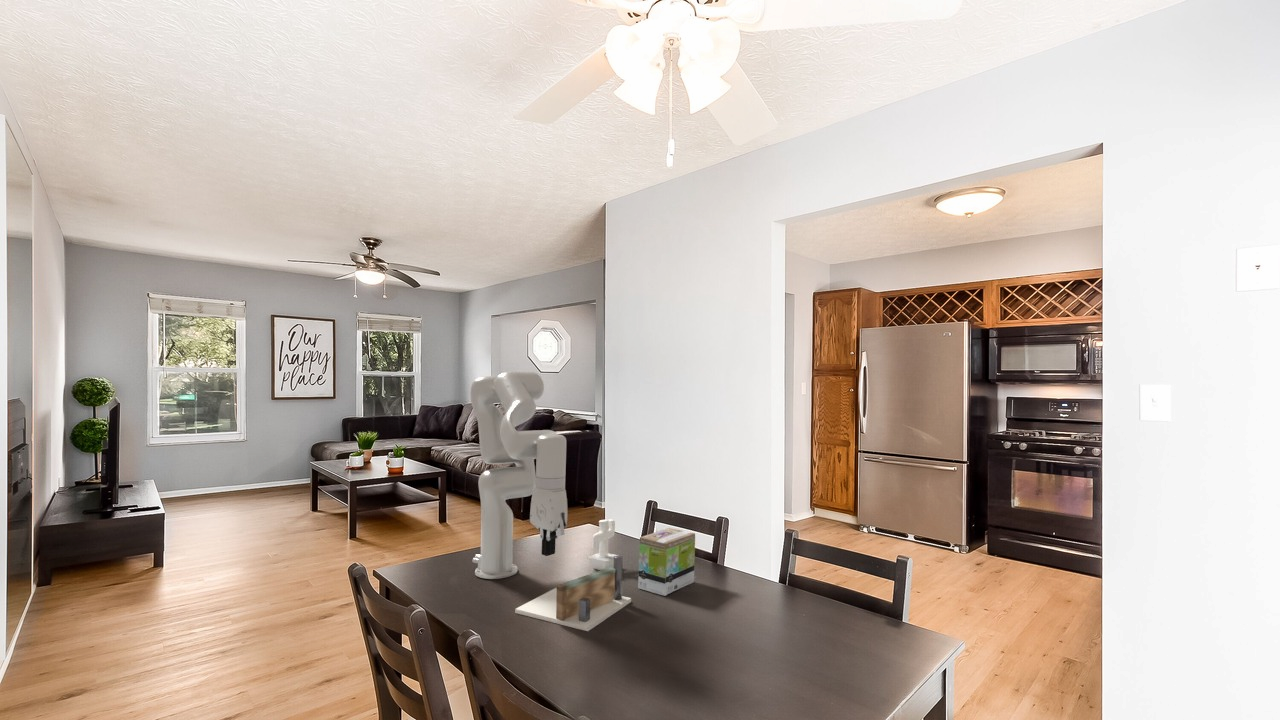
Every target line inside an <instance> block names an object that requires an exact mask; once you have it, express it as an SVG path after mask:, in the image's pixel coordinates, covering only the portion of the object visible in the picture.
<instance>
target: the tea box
mask: <svg viewBox="0 0 1280 720" xmlns="http://www.w3.org/2000/svg"><path fill="white" fill-rule="evenodd" d="M638 551H639V552H638V553H639V554H638V575H637V576H638V579H637V581H638V582H637V588H638V589H640V590H643V591H646V592H649V593H653V594H656V595H660V596H665V597H666V596H667V595H669V594H671V593H674V592H675V591H677V590H679V589H682V588H684V587H686V586H689V585H691V584H693V583H694V582H695V561H696V560H695V558H696V555H695V554H696V552H695V551H696V533H694V532H690V531H686V530H685V531H684V530H682V529H681V530H680V529H677V528H671V527H668V528H665V529H661V530H658V531H655V532H652V533H648V534H645V535H642V536H640V537H639V549H638Z"/></svg>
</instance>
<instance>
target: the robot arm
mask: <svg viewBox="0 0 1280 720" xmlns="http://www.w3.org/2000/svg"><path fill="white" fill-rule="evenodd" d="M544 385H545V384H544V381H543V379H542V376H540V375H539V374H538V373H536V372H534V371H506V372H502V373H500V374H498V375H496V376H495V375H493V376H492V375H490V376H481V377H477V378H476V379H474V380H473V382H472V384H471V386H470V393H469V394H470V403H471V407H472V409H473V411H474V414H475V416H476V420H477V424H478V425H477V426H478V427H477V428H478V437H479V438H478V439H479V448H480V457H481V459H482V461H483V463H485V464H487V465H503V464H515V466H513V467H496V468H490V469H487V470H485V471H483V472H482V473H481V474H480V476H479V477H478V482H477V483H478V491H479V497H480V498H479V499H480V511H481V512H480V554H479V553H478V554H475V555H474V557H473V558H472V563H475V564H477V567H476V568H475V571H474V575H475V576H476V577H478V578H480V579H484V580H486V579H487V580H500V579H504V578H505V579H506V578H510V577H511V576H514V575H516V574H517V572H518V566H517V565H516V564H513V559H514V558H513V557H514V556H513V554H514V553H513V552H514V551H513V550H514V549H513V548H514V547H513V545H514V543H513V542H514V513H513V510H512V509H511V507H510V506H509V505H508V503H507V502H506V500H509V499H510V500H512V499H520V498H525V497H530V496H531V501H530V510H529V511H530V512H529V522H530V524H531V525H532V526H534V527H535V528H536V530H538V531H539V536H540V539H541V555H542V556H545V557H548V556H551V555H555V554H556V539H558V536H564V535H565V528H567V525H568V498H567V490H566V467H567V466H566V465H567V438H566V436H564V435H562V434H558V433H557V432H556V431H554V430H551V429H542V430H540V429H538V430H535V429H534V430H520V431H519V430H517V429H516V427H518V426H520V425H522V424H524V423H525V422H527V421H529V420H530V419H531V418H533V416H534V415H535V413H536V410H537V405H536V402H535V401H537V400H539V399H541V397H542V396H543V394H544V392H545V391H544V390H545V389H544V388H545V386H544ZM495 404H501V405H502V407H503V410H504V412H505V414H504V413H503V412H502V411H501V410H500V409H499V408H498V407H497V406H496V405H495ZM535 460H536V462H535ZM535 463H536V465H535Z"/></svg>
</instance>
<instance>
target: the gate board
mask: <svg viewBox="0 0 1280 720" xmlns="http://www.w3.org/2000/svg"><path fill="white" fill-rule="evenodd" d="M556 596H557V586H556V587H554V588H552V589H550V590H548V591H547V592H545V593H543V594H542V595H539V596H537V597H536V598H534V599H532V600H530V601H528V602H525V603H524V604H522V605H520V606H518V607H516V608H515V611H514V613H515V614H518V615H522V616H526V617H530V618H534V619H537V620H541V621H546V622H550V623H554V624H557V625H562V626H565V627H570V628H574V629H577V630H581V631H585V632H589V631H591V630H592V629H594V628H596V626H597V625H600V624H601V623H602V622H604V621H606V619H608V618H609V617H611V616H612V615H614V614H615V613H617V612H618V611H620V610H622V609H623V608H625V607H626V606H628V605H629V604H630V603H632V598H631V597H628V596H624V595H622V599H621V600H612V601H609V602H607V603H604V604H601V605H599V606H596V607H594V608H591V609H590V620H588V621H587V622H582V621H579V614H576V615H574V616H571V617H569V618H566V619H565V620H563V621H561V620H558V619H556Z"/></svg>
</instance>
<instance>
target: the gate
mask: <svg viewBox="0 0 1280 720" xmlns="http://www.w3.org/2000/svg"><path fill="white" fill-rule="evenodd" d="M556 587H557V596H556V619H558V620H561V621H563V620H565V619H566V618H569V617H571V616H574V615H576V614H579V599H581V598H583V597H585V598H590V609H591V608H594V607H596V606H599V605H601V604H604V603H607V602H609V601H612V600H614V594H615V569H614V568H611V567H609V568H606V569H604V570H598V571H595V572H592V573H589V574H586V575H583V576H581V577H580V576H579V577H577V578H574V579H572V580H568V581H565V582H563V583H559V584H557V585H556Z"/></svg>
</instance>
